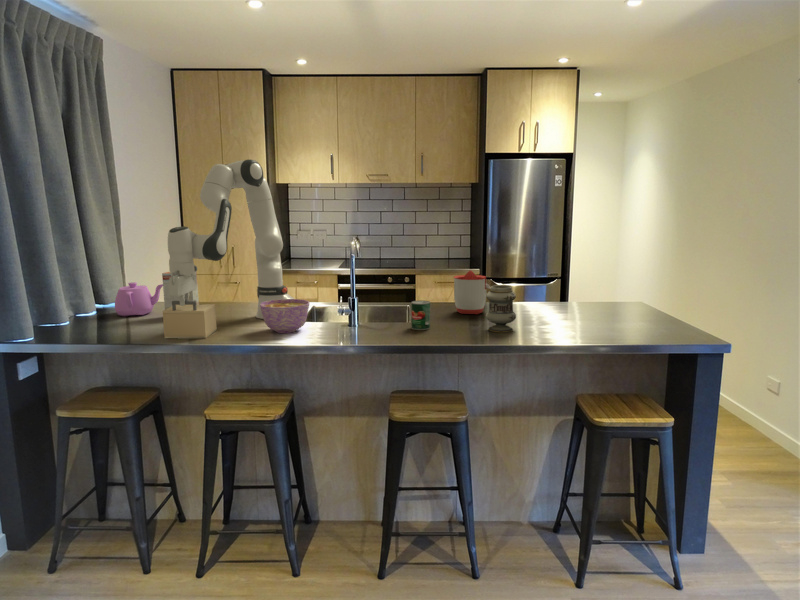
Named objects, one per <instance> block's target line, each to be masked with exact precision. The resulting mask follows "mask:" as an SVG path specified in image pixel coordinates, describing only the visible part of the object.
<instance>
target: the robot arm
mask: <svg viewBox="0 0 800 600" xmlns="http://www.w3.org/2000/svg"><path fill="white" fill-rule="evenodd" d="M233 189H243V191H244V192H245V198H246V203H247V204H246V205H247V209H248V213H249V218H250V222H251V226H252V228H253V232H254V235H255V238H254V250H255V259H256V260H255V261H256V266H257V267H256V269H257V270H256V271H257V286H256V288H257V289H256V292H257V293H256V294H257V300H258V302H257V311H256V315H255V317H256V318H257V319H262V320H264V318H263V315H262V311H261V308H260V303H262V302H266V301H271V300H279V299H295V298H294V297H293V296H291V295H290V294H289V293H288V292H289V291H288V290H289V289H288V286H285V285H283V284H284V280H283V266H282V259H281V252H282V251H283V249H284V248H283V247H284V242H283V237H282V233H281V229H280V226H279V222H278V220H277V219H278V218H277V216H276V211H275V206H274V202H273V197H272V194H271V193H272V192H271V189H270V186H269V183H268V181H267V179H266V178H265V177H264V170H263V167H262V166H261V164H260V162H258V161H257V160H255V159H244V160H243V159H242V160H237V161H234V162H233V161H232V162H230V163H226V164H222V163H216V164H214V165H213V166H211V168H210V169H209V171H208V173H207V175H206V176H205V178H204V182H203V185H202V186H201V190H200V191H199V193H200V194H199V198H200V202H201V203H202V205H203V206H204V207H205V208H207V209H208V210H210V211H211V212H213V213H215V220H214V225H213V231H212V232H211V233H209V234H198V233H195V232H194V231H192V230H191V229H190V227H188V226H176V227H173V228H171V229H169V230H168V233H167V252H168V255H169V258H168V259H169V260H168V267H169V272H170V275H172V276H171V277H170V278H169V295H170V297H178V299H179V301H180V306H185V305H186V301H188V299H189V292H191V291H193V290H195V289H196V286H197V285H198V274H197V275H196V272H198V266H197V265H196V264H194V259H196V260H208V261H215V262H218V261H220V260H222V259H223V258H224V257H225V256H226V254H227V251H228V236H229V229H230V224H231V220H232V219H231V218H232V213H233V212H232V204H231V201H229V199H230V195H231V192H232V190H233Z"/></svg>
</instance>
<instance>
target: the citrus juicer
mask: <svg viewBox="0 0 800 600" xmlns="http://www.w3.org/2000/svg"><path fill="white" fill-rule="evenodd" d="M453 279H454V280H453V282H454V283H453V289H454V290H453V296H454V297H453V298H454V299H453V300H454V304H455V309H456V312H458V313H460V314H462V315H464V314H465V315H467V314H468V315H479V314H481V313H483V311H484V309H485V306H486V302H487V301H486V300H487V297H486V295H487V289H491V286H490V283H489V284H488V283H487V276H486V275H480V274H479V275H478V274H475V273H474V272H473V270H469V271H468V272H467V273H466V274H460V275H455V276H453Z"/></svg>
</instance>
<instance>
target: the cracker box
mask: <svg viewBox="0 0 800 600" xmlns="http://www.w3.org/2000/svg"><path fill="white" fill-rule="evenodd" d="M197 272H198V271H197ZM197 272H196V275H197V276H198V273H197ZM161 276H162V284H163V286H162V288H163V289H162V291H163V301H164V310H166V309H168V308H170V307H172V301H179V299H178V297H170V295H169V278H170V277H171V276H172V275H170V271H166V272H163V273H162V274H161ZM198 286H199V285H198V284H197V286H196V289H195V290H193V291H191V292H189V299H188V301H194V300H196V302H197V303H196V304H200V302H199V301H200V300H199V299H200V298H199V289H198V288H199V287H198Z"/></svg>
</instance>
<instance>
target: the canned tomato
mask: <svg viewBox="0 0 800 600" xmlns="http://www.w3.org/2000/svg"><path fill="white" fill-rule="evenodd" d="M410 307H411V322H410V323H411V329H412V330H415V331H427V330H430V329H431V301H429V300H422V299H421V300H413V301H411V306H410Z"/></svg>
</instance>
